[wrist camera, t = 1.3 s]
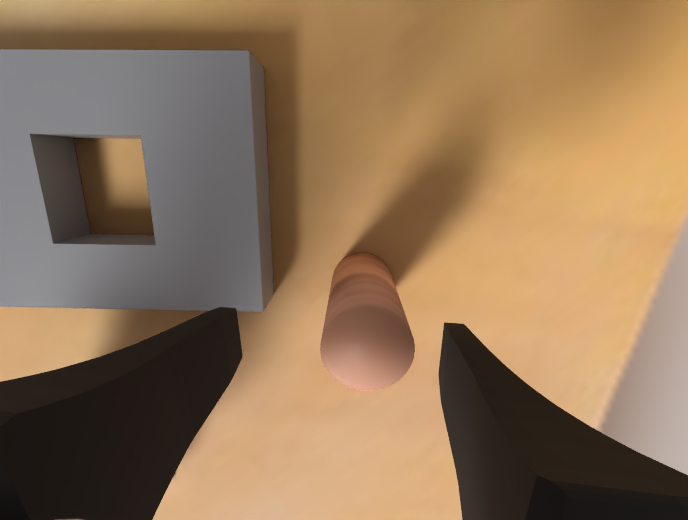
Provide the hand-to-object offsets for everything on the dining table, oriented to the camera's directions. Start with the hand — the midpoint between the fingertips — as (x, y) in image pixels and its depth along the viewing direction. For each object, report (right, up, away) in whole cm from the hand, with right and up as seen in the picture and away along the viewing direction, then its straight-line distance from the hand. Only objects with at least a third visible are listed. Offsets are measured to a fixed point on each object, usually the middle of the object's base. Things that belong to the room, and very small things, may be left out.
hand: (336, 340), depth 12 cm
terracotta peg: (+1, +1, +12) cm, 12 cm away
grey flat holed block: (-13, +7, +10) cm, 18 cm away
